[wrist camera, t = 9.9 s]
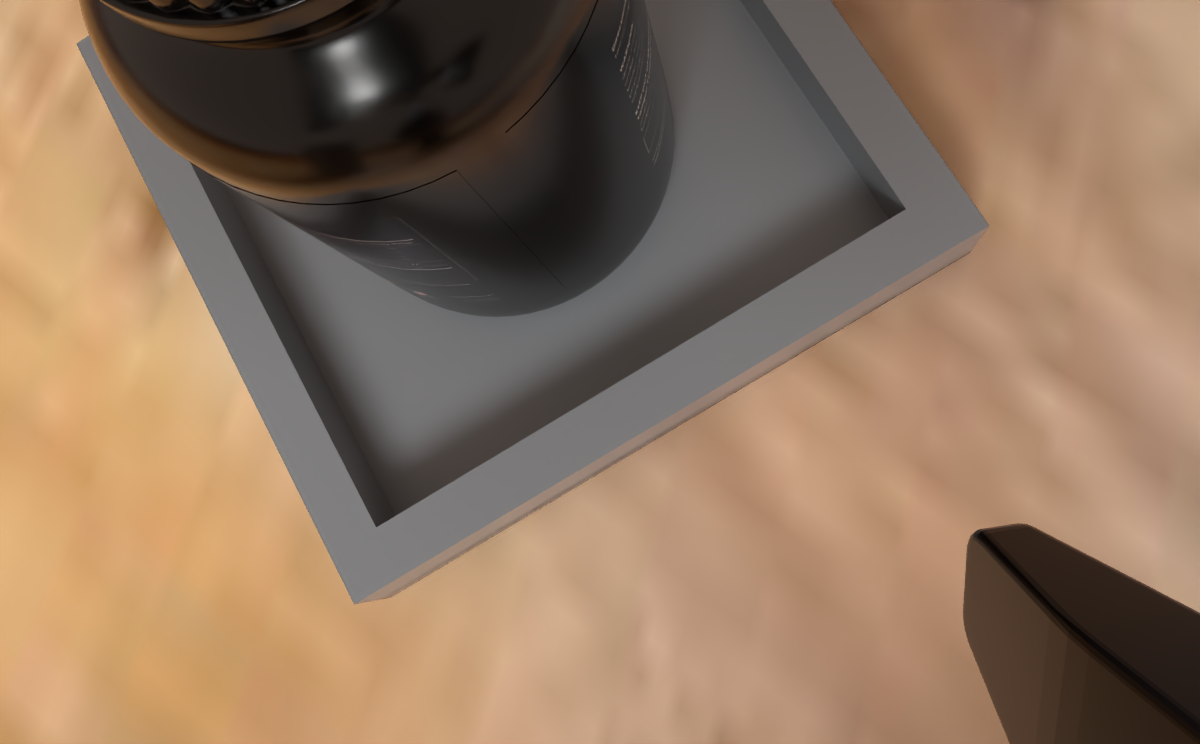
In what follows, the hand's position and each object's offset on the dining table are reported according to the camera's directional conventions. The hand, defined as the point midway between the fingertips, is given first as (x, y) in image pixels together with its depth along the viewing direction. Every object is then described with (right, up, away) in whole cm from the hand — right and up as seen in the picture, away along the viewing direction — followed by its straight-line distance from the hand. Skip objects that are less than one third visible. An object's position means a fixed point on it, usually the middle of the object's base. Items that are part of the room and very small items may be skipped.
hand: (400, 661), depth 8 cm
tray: (0, +7, +13) cm, 15 cm away
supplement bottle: (0, +6, +13) cm, 14 cm away
